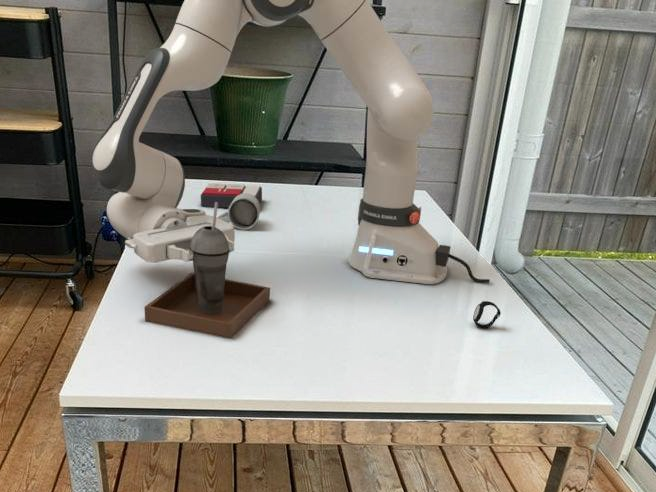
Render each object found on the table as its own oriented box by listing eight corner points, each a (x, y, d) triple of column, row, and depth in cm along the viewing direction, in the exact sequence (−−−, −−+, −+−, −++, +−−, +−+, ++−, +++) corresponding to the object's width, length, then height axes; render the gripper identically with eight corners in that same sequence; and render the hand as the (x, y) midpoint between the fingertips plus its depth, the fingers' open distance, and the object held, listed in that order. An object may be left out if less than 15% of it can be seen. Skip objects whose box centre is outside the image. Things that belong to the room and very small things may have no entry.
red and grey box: (207, 181, 209) (262, 184, 209) (208, 198, 212) (262, 200, 211) (199, 192, 200) (256, 194, 200) (201, 208, 203) (257, 211, 202)
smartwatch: (473, 321, 152) (478, 297, 149) (499, 327, 150) (504, 303, 147) (468, 328, 149) (472, 303, 146) (493, 334, 147) (499, 309, 144)
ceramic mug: (260, 221, 195) (261, 190, 191) (258, 231, 189) (259, 199, 184) (219, 219, 195) (218, 187, 191) (215, 228, 188) (215, 196, 184)
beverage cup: (191, 301, 149) (189, 195, 137) (229, 302, 149) (230, 197, 138) (189, 315, 143) (187, 206, 131) (229, 317, 143) (230, 208, 132)
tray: (269, 300, 152) (270, 287, 151) (231, 338, 137) (231, 324, 135) (191, 285, 156) (191, 272, 154) (145, 321, 140) (144, 306, 138)
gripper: (118, 223, 139) (163, 244, 131) (207, 207, 151) (253, 225, 144) (121, 258, 143) (165, 280, 135) (207, 239, 155) (252, 258, 147)
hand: (211, 252), depth 140 cm, fingers open, 8 cm apart
